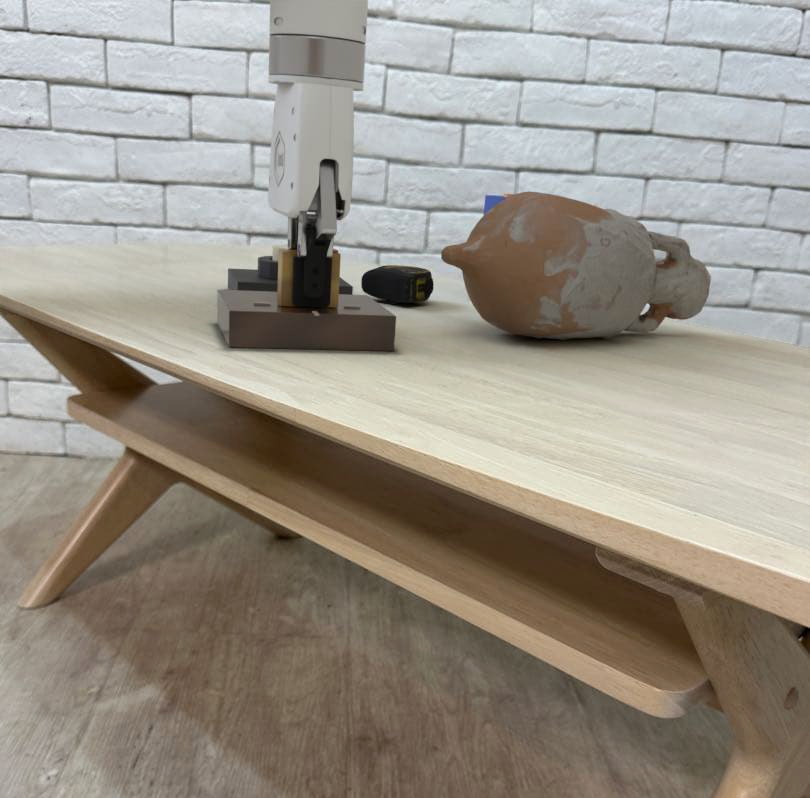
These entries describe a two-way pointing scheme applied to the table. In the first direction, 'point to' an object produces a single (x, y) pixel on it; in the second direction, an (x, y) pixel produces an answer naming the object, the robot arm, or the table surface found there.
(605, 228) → the amphora
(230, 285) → the dark grey stepped block
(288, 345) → the plate
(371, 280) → the tape measure
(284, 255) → the gold rectangular block
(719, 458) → the table surface
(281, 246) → the bell button
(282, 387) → the table surface
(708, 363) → the table surface
